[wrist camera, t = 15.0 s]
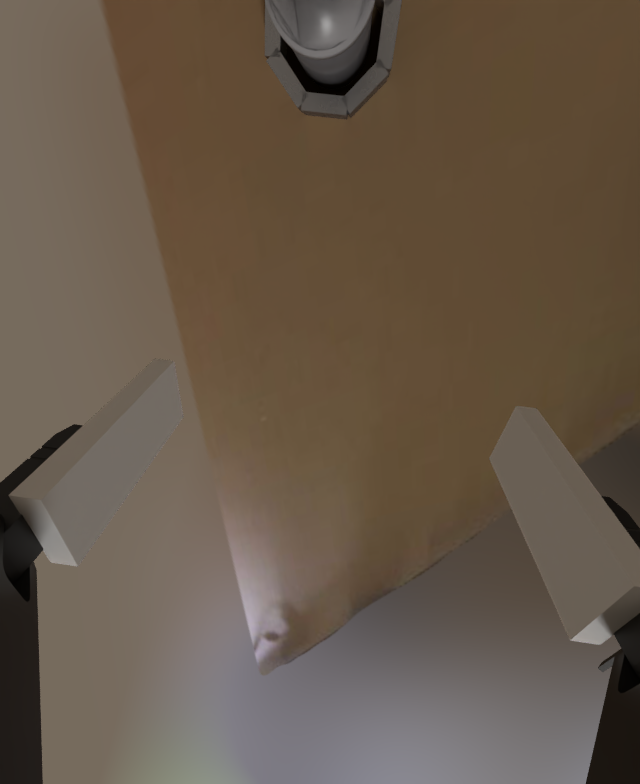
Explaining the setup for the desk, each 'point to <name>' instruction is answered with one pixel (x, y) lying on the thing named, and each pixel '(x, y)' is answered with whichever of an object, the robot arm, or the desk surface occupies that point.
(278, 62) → the collar
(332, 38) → the tube
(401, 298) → the desk surface
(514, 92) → the desk surface
